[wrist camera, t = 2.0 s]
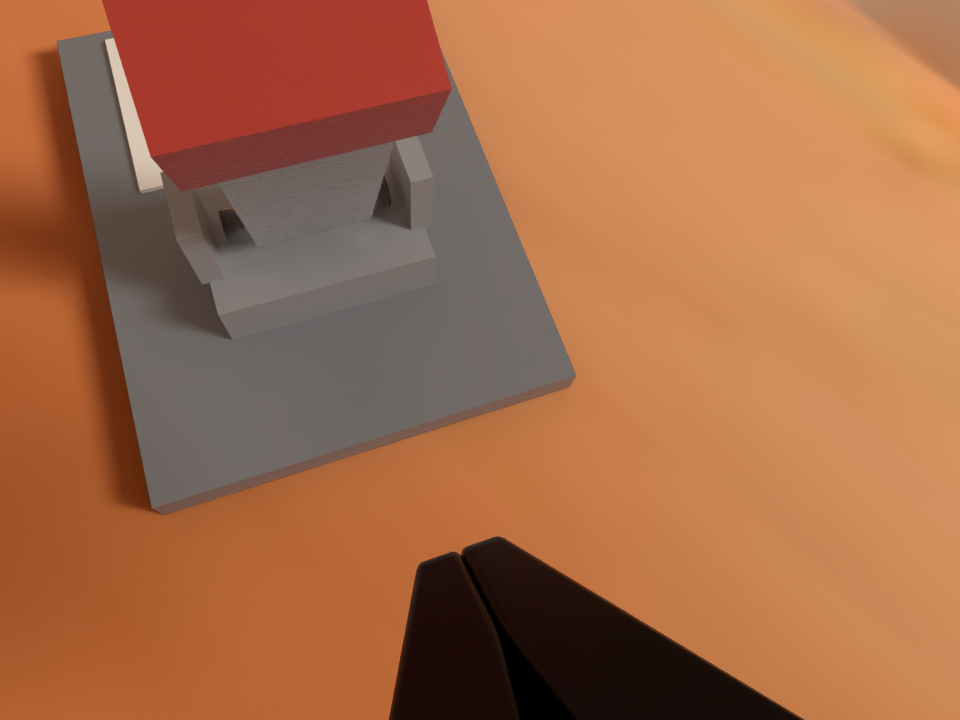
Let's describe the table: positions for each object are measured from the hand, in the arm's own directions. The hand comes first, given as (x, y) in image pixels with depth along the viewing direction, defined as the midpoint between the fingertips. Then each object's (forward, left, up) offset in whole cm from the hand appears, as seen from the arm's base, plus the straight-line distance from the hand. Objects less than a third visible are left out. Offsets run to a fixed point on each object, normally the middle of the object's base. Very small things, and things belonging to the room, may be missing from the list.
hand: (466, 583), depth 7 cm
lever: (+10, +5, -10) cm, 15 cm away
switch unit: (+12, +6, -14) cm, 19 cm away
